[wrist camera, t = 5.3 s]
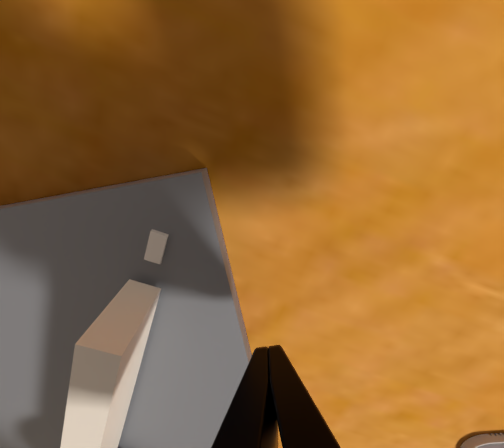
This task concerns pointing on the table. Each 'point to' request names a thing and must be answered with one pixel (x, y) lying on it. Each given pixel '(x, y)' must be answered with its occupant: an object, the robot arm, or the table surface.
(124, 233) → the dial plate
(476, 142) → the table surface
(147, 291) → the lever
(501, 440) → the smartphone
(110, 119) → the table surface
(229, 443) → the robot arm
